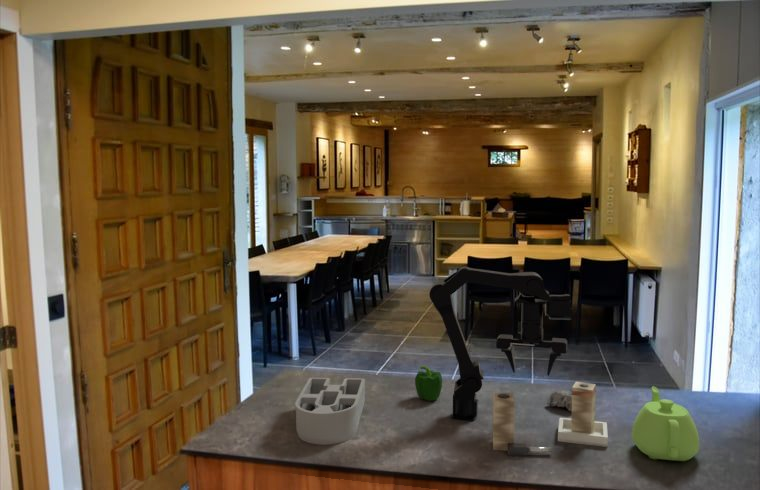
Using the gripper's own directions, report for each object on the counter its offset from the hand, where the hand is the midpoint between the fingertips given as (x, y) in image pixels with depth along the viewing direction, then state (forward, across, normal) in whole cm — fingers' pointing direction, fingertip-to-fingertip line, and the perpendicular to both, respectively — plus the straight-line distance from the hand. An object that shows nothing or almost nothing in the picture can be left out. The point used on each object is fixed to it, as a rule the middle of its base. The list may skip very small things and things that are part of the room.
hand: (531, 373), depth 175 cm
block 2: (+12, -14, +8) cm, 20 cm away
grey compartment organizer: (+14, +52, +19) cm, 57 cm away
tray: (+13, -14, +8) cm, 21 cm away
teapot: (+13, -33, +11) cm, 37 cm away
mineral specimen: (+13, -9, -12) cm, 20 cm away
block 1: (+13, +5, +20) cm, 24 cm away
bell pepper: (+13, +31, -8) cm, 35 cm away
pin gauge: (+13, -1, +23) cm, 26 cm away
